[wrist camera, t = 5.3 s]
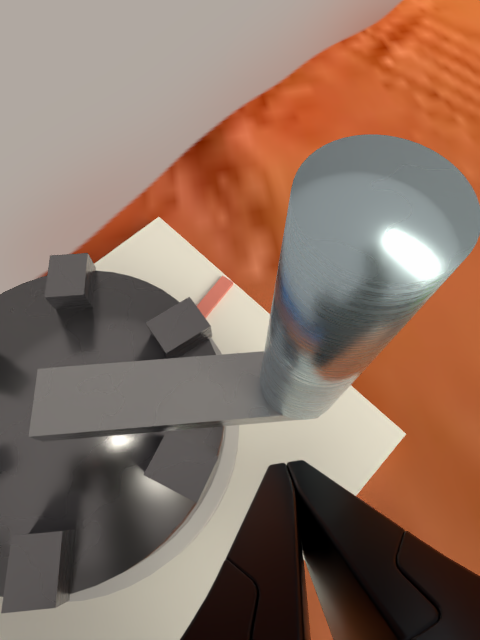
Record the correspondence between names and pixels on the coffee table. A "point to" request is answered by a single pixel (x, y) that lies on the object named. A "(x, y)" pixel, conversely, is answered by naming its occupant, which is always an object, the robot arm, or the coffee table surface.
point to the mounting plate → (261, 447)
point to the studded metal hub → (201, 364)
